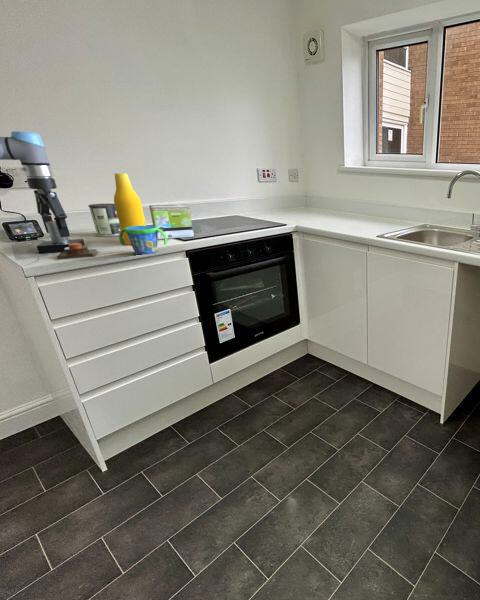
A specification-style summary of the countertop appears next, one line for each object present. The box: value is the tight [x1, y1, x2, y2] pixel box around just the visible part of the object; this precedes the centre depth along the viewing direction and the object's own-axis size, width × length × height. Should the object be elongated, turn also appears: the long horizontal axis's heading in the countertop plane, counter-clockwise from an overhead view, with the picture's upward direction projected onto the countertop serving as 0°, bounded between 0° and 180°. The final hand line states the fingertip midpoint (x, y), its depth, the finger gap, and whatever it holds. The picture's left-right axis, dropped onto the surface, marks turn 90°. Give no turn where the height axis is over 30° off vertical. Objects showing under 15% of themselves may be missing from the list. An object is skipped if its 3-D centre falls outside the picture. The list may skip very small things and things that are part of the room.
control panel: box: [36, 238, 86, 255], centre depth 139 cm, size 12×10×3 cm
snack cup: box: [118, 224, 168, 256], centre depth 137 cm, size 16×10×10 cm
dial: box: [46, 219, 70, 243], centre depth 137 cm, size 5×5×8 cm
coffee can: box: [88, 203, 121, 237], centre depth 166 cm, size 10×10×14 cm
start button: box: [69, 243, 82, 249], centre depth 131 cm, size 4×4×2 cm
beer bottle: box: [113, 172, 147, 246], centre depth 149 cm, size 9×9×29 cm
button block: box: [56, 245, 98, 260], centre depth 132 cm, size 10×8×3 cm
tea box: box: [148, 204, 194, 241], centre depth 166 cm, size 15×10×15 cm, turn 129°
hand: (58, 234), depth 138 cm, fingers open, 13 cm apart
